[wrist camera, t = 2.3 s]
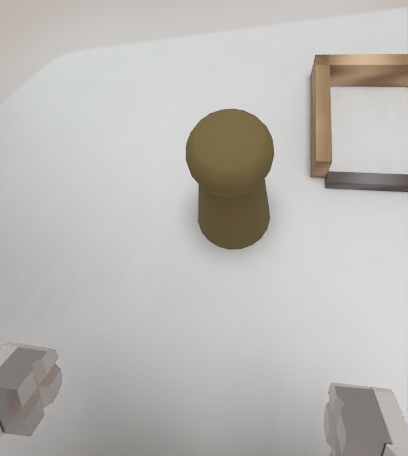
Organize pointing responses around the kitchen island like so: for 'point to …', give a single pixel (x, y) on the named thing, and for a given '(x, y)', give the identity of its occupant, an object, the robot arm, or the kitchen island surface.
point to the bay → (321, 112)
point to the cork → (231, 176)
